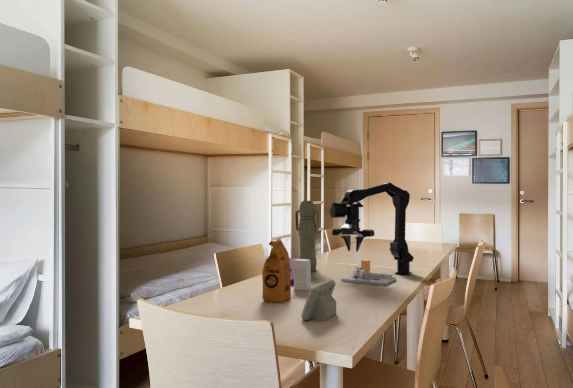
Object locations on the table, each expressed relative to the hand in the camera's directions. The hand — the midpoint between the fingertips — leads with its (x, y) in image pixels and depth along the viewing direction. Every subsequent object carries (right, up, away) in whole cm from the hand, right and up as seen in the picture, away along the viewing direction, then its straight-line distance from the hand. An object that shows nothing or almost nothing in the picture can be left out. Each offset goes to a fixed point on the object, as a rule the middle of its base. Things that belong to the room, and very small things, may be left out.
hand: (353, 251), depth 205 cm
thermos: (-20, -12, +21) cm, 31 cm away
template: (+6, -12, -8) cm, 16 cm away
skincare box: (-24, -13, -24) cm, 36 cm away
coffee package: (-34, -13, -40) cm, 54 cm away
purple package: (-29, -13, -8) cm, 33 cm away
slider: (+4, -10, -5) cm, 12 cm away
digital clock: (-20, -13, -63) cm, 67 cm away
